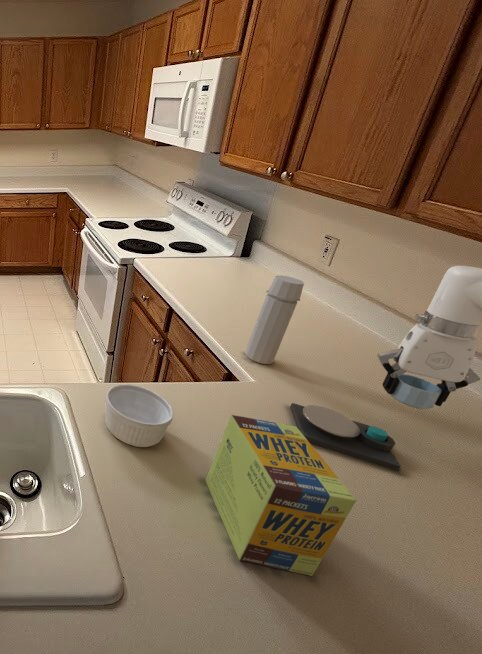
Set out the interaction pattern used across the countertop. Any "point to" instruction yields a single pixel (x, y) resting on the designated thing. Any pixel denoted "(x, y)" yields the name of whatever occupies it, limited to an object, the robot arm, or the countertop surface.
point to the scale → (348, 441)
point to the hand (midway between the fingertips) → (410, 396)
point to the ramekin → (137, 415)
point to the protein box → (276, 495)
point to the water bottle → (274, 319)
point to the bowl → (416, 392)
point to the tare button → (377, 433)
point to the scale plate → (331, 421)
